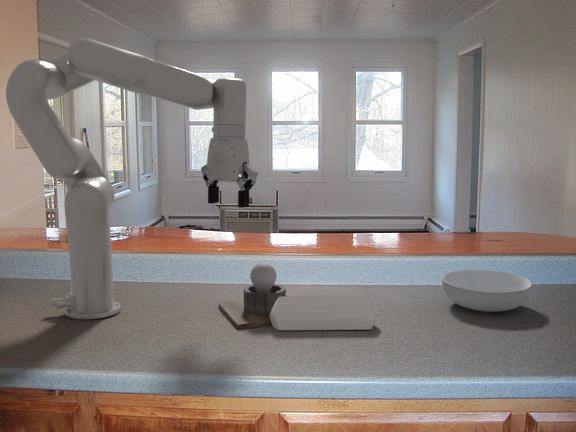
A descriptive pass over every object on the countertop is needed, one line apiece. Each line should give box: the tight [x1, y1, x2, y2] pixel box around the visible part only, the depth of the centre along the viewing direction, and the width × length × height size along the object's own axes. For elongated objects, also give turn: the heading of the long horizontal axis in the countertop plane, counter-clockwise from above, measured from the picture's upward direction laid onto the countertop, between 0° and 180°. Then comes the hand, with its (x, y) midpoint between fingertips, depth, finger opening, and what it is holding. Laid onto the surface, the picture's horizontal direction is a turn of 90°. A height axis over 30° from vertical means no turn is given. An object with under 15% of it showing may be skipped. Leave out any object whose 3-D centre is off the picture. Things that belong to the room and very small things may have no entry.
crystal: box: [269, 295, 379, 331], centre depth 144 cm, size 7×7×24 cm
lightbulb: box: [249, 262, 277, 293], centre depth 152 cm, size 6×6×11 cm
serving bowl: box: [441, 269, 533, 313], centre depth 158 cm, size 21×21×7 cm
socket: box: [218, 283, 290, 330], centre depth 153 cm, size 18×18×6 cm
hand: (228, 205), depth 155 cm, fingers open, 9 cm apart
